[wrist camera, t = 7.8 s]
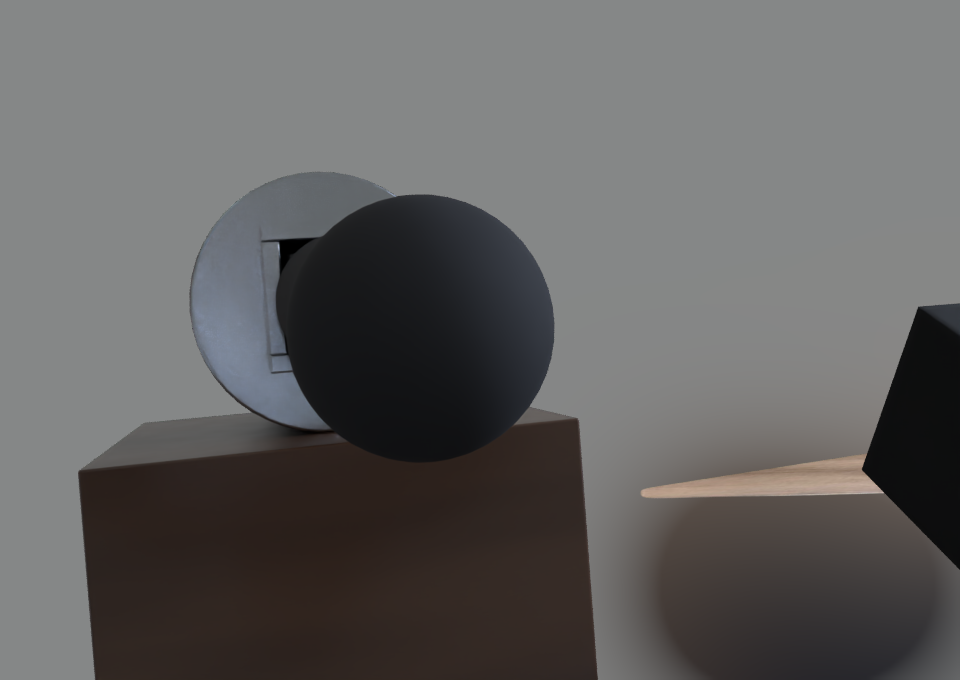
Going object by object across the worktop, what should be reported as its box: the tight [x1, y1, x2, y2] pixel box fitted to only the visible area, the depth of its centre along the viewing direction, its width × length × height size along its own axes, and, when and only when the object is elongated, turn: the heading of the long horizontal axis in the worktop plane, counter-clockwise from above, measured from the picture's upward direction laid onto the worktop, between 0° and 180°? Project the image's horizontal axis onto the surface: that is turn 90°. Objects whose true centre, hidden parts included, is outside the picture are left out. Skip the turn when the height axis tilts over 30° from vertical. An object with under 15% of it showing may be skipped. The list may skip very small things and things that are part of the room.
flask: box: [190, 172, 396, 432], centre depth 26 cm, size 13×7×7 cm, turn 14°
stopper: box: [276, 195, 554, 463], centre depth 17 cm, size 13×4×4 cm, turn 16°
